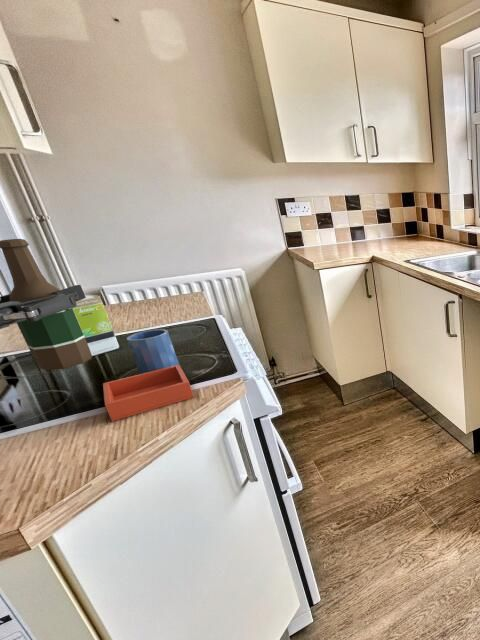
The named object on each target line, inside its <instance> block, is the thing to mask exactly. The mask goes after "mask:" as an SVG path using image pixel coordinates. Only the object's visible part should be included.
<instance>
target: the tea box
mask: <svg viewBox="0 0 480 640" xmlns="http://www.w3.org/2000/svg"><path fill="white" fill-rule="evenodd" d="M84 295H85V297H86V298H84V299H82V300H79V301H76V305H77V306H76V307H73V308H72V309H73V311H74V313H75V316H76V318H77V320H78V323H79V325H80V327H81V330H82V332H83V334H84V337H85V339H86V341H87V344H88V346H89V349H90V352H91V355H92V357H93V356H98V355H101V354H105V353H109V352H111V351H114V350H118V349H119V348H120V345H119V342H118V339H117V337H116V335H115V332H114V329H113V326H112V324H111V321H110V318H109V315H108V313H107V311H106V309H105V305H104V303H103V300H102V298H101V296H100V295H97V294H90V293H84Z"/></svg>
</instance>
